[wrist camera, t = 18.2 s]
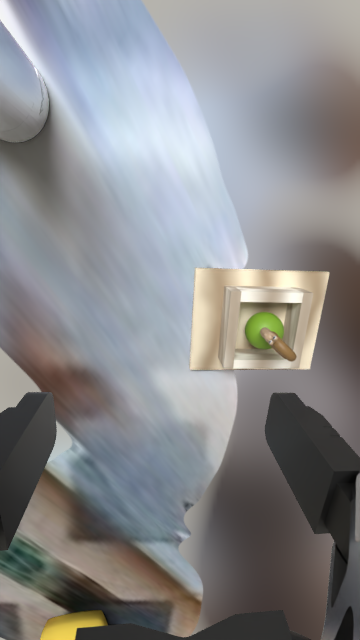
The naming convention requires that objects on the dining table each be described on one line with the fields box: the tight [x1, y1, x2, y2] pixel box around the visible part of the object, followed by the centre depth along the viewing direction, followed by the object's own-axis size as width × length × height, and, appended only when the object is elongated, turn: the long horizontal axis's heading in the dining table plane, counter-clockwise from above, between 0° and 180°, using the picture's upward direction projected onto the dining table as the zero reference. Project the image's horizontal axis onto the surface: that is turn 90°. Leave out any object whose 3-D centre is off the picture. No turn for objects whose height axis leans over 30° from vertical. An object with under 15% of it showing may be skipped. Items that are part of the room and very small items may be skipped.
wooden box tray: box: [189, 268, 329, 370], centre depth 41 cm, size 20×16×5 cm
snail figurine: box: [245, 312, 297, 362], centre depth 37 cm, size 5×6×12 cm
